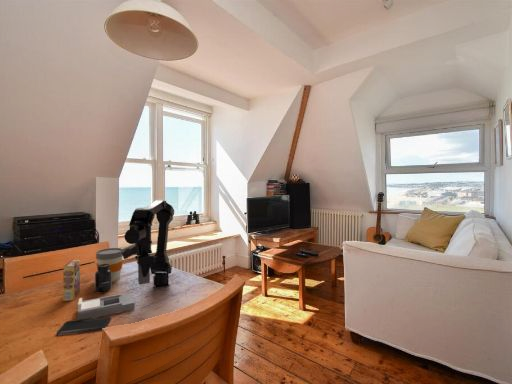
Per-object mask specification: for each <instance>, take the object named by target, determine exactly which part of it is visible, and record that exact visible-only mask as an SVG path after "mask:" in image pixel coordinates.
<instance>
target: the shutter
mask: <svg viewBox="0 0 512 384" xmlns="http://www.w3.org/2000/svg"><path fill="white" fill-rule="evenodd" d="M95 299H96V298H95ZM90 300H91V299H90ZM82 301H83V297H80V298H78V303H77V312H78V311H82V310H86V309H91V308H96V307H100V299H96V300H91V301H86V300H85V301H86V302H82Z"/></svg>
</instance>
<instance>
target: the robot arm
mask: <svg viewBox="0 0 512 384" xmlns="http://www.w3.org/2000/svg"><path fill="white" fill-rule="evenodd" d="M174 215H175V210H174V207H173V205H171V204H169V203H168V202H167V200H164V199H156V200H154V201H153V202H152V203H149V205H147V206H144V207H137V208H135V209H134V211H133V212H132V215H131V218H130V221H129V224H128V225H129V229H127V230H126V232H125V233H124V236H123V237H124V240H125V242H126V243H127V244H130V245H129V246H126V247H124V248H121V249H122V250H121V253H122V255H123V256H122V259H123V260H127V259H128V258H131V257H132V256H134V257H135V260H137V261H136V263H137V265H141V269H142V273H143V277H146V276H147V273H148V271H149V269H150V275H153V276H152V281H153V283H152V284H153V286H154V288H155V289H159V288H164V287H169V286H170V283H169V275H170V274H172V270H173V269H172V268H173V267H172V264H171V263H170V260H169V259H170V258H169V256H168V254H167V248H168V247H167V246H168V238H169V236H168V235H169V227H170V224H171V222H172V221H173V219H174V218H173V217H174ZM155 217H156V220H157V222H158V231H157V241H156V250H155V254H153V251H152V244H153V241H152V226H153V221H154V219H155Z"/></svg>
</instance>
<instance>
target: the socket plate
mask: <svg viewBox="0 0 512 384" xmlns="http://www.w3.org/2000/svg"><path fill="white" fill-rule="evenodd" d="M96 299H100V307H96V308H91V309H86V310H82V311H78V310H77V320H82V319H91V318H100V317H105V316H107V315H112V314H117V313H121V312H126V311H130V310H134V309H135V306H136V305H135V299H134V295H133V292H128V293H123V294H121V293H118V294H113V295H107V296H104V297H103V296H102V297H101V296H100V297H97V298H92V299H87V300H86V299H85V300H82V302H86V301H91V300H96ZM135 310H136V309H135Z"/></svg>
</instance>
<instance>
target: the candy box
mask: <svg viewBox="0 0 512 384" xmlns="http://www.w3.org/2000/svg"><path fill="white" fill-rule="evenodd" d="M62 268H63V276H62V278H63V279H62V301H63V302H67V301H74V300H75V298H76V297H77V296H78V294H79V293H80V292H81V289H80V288H81V287H80V286H81V260H80V259H74V260H69V261H68V262H66V264H65V265H63V267H62Z"/></svg>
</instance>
